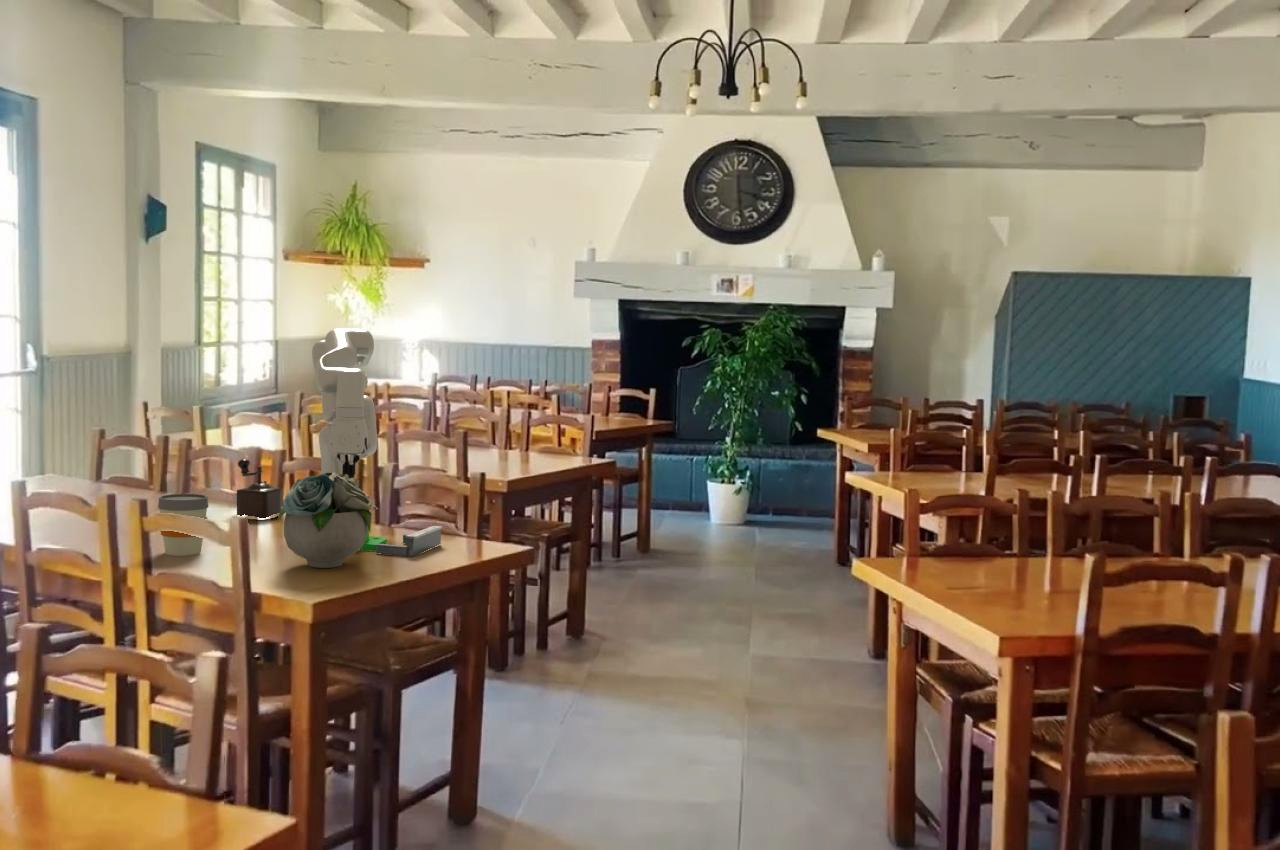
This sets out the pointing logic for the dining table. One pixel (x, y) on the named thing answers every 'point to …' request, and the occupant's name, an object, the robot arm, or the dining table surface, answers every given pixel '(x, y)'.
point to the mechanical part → (373, 542)
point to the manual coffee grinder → (257, 496)
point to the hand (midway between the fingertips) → (348, 477)
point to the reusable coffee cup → (185, 506)
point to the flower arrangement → (326, 519)
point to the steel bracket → (414, 542)
